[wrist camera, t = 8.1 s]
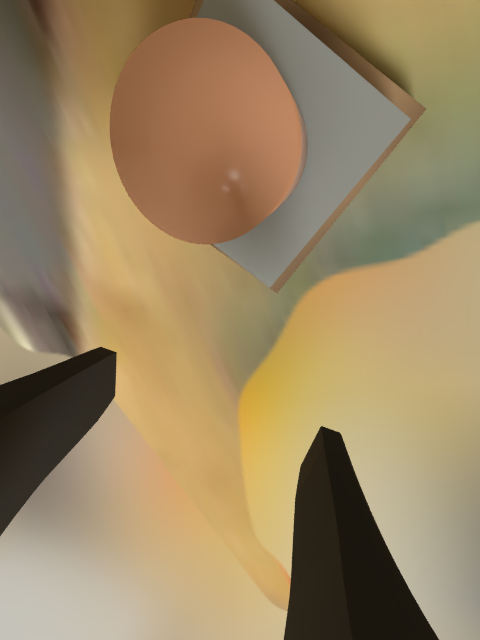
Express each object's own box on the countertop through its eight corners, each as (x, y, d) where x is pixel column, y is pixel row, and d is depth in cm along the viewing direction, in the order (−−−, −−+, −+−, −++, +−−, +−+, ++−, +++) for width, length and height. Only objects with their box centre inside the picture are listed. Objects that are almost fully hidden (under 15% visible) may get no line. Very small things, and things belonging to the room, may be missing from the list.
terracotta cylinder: (336, 126, 11) (340, 103, 7) (260, 241, 14) (229, 277, 9) (221, 41, 11) (151, -37, 7) (165, 174, 14) (88, 180, 9)
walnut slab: (411, 116, 15) (426, 108, 12) (282, 278, 20) (276, 293, 17) (236, -25, 14) (219, -59, 12) (149, 180, 19) (126, 183, 17)
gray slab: (397, 126, 13) (410, 119, 11) (277, 271, 17) (269, 288, 15) (241, -8, 12) (222, -45, 10) (155, 176, 16) (128, 179, 14)
